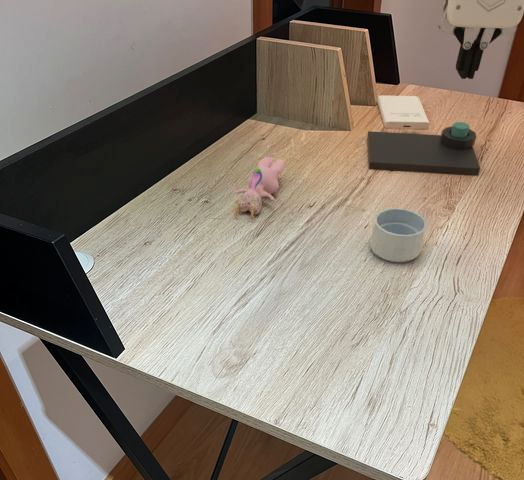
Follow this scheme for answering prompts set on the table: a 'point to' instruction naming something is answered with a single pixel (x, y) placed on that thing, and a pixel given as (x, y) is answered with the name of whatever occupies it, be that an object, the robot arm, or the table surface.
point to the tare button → (460, 129)
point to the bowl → (398, 234)
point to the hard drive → (402, 112)
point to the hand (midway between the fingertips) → (465, 75)
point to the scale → (423, 152)
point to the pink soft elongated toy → (260, 186)
